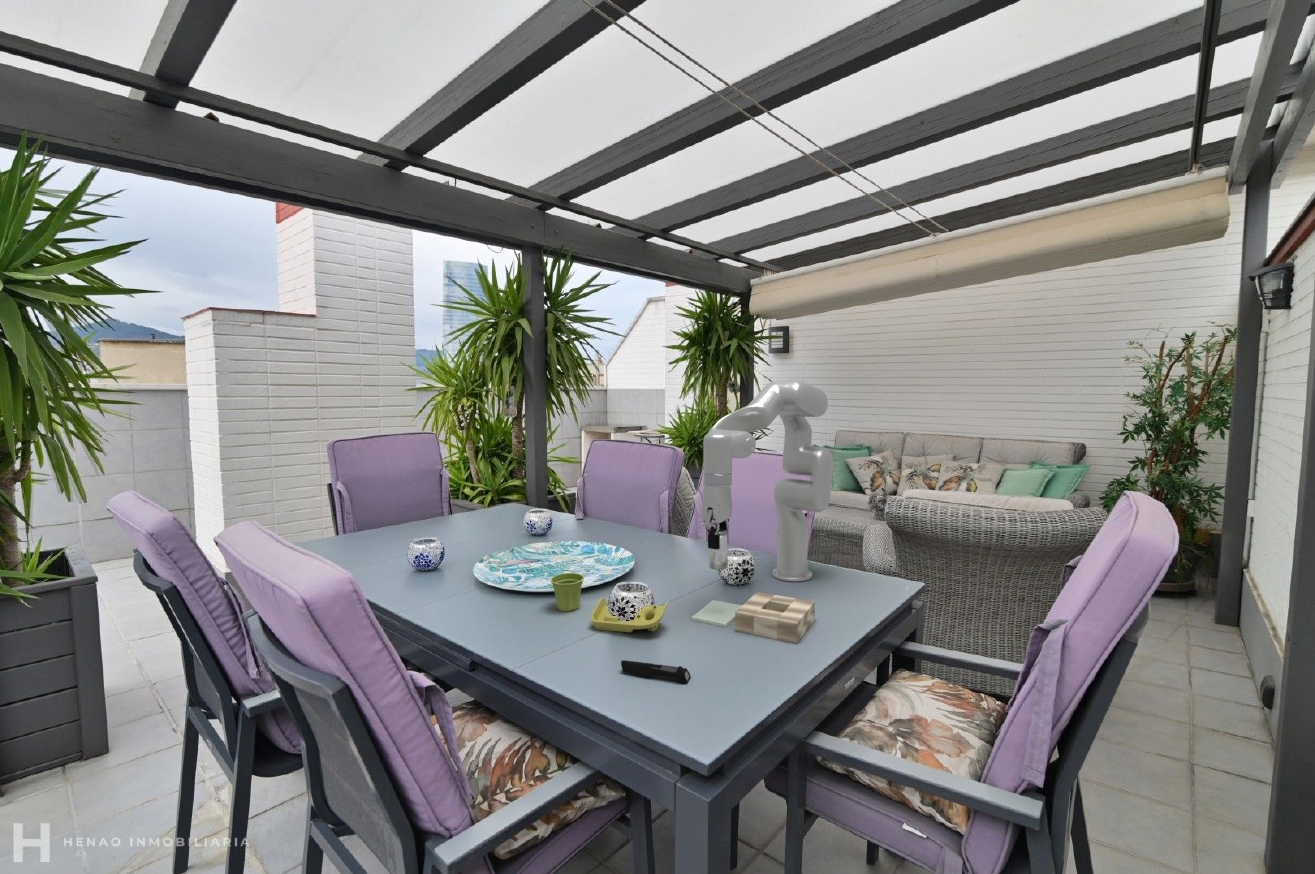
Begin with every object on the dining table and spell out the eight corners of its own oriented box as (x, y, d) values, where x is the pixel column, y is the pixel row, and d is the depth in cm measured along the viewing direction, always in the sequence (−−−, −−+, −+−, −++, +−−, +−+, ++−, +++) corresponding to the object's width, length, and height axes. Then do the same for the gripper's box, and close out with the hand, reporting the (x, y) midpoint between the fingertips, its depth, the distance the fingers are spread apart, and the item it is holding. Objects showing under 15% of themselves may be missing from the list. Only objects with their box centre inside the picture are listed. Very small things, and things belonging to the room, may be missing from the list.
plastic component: (587, 621, 156) (603, 593, 163) (596, 641, 159) (610, 612, 167) (657, 627, 147) (670, 597, 155) (665, 648, 151) (676, 617, 159)
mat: (713, 602, 173) (713, 600, 173) (745, 608, 168) (745, 605, 168) (691, 620, 161) (691, 617, 160) (725, 627, 156) (725, 624, 156)
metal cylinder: (713, 563, 166) (713, 527, 165) (730, 565, 164) (730, 529, 163) (706, 568, 162) (705, 531, 161) (723, 570, 159) (723, 533, 158)
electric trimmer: (625, 669, 135) (624, 655, 135) (691, 678, 130) (691, 664, 130) (618, 677, 132) (618, 663, 132) (686, 686, 127) (686, 672, 126)
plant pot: (578, 615, 165) (577, 584, 165) (546, 613, 167) (545, 582, 167) (589, 602, 175) (588, 573, 174) (558, 600, 176) (557, 572, 176)
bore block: (757, 609, 167) (757, 591, 167) (814, 619, 159) (814, 601, 159) (735, 630, 153) (735, 611, 153) (796, 643, 145) (796, 623, 145)
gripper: (718, 474, 170) (718, 537, 171) (690, 483, 155) (691, 552, 157) (742, 475, 166) (743, 540, 168) (717, 485, 151) (718, 556, 153)
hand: (718, 545), depth 162 cm, fingers closed on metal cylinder, 5 cm apart
